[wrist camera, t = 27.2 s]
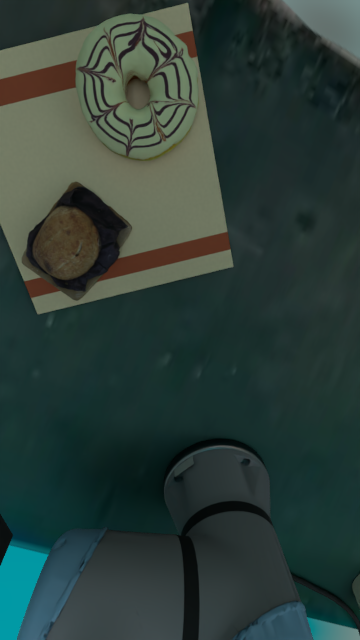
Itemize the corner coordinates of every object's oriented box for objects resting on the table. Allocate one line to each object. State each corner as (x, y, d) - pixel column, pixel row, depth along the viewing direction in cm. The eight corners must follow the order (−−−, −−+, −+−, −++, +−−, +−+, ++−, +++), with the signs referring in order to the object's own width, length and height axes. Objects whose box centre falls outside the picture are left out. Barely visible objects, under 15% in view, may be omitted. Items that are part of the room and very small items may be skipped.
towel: (232, 265, 38) (233, 266, 37) (39, 312, 38) (37, 314, 38) (187, 6, 30) (188, 2, 29) (-61, 69, 30) (-66, 66, 29)
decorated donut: (154, 0, 29) (154, -28, 25) (215, 121, 32) (222, 112, 29) (58, 73, 30) (45, 57, 26) (127, 182, 34) (124, 180, 30)
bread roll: (81, 303, 38) (74, 314, 34) (15, 256, 35) (0, 263, 32) (139, 230, 35) (137, 234, 32) (72, 174, 33) (63, 171, 30)
